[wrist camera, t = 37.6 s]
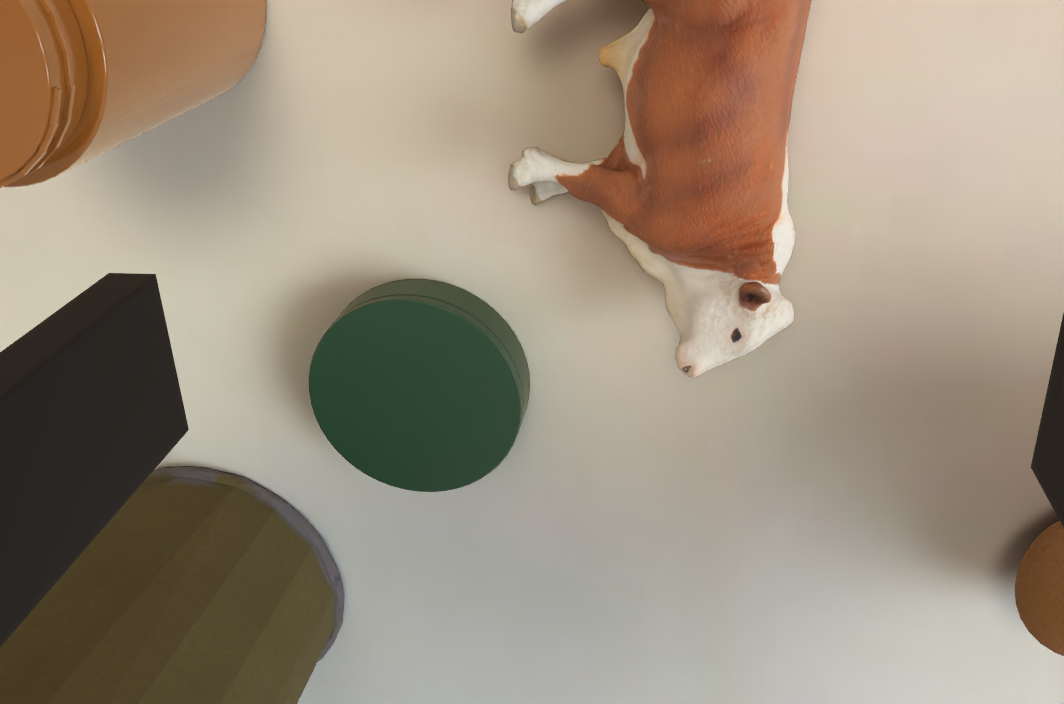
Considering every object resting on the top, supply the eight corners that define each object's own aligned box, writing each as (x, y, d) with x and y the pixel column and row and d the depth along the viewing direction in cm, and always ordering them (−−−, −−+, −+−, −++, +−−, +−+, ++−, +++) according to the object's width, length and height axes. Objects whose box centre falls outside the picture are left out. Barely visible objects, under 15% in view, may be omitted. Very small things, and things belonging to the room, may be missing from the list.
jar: (51, 59, 32) (-223, 145, 22) (74, -159, 29) (-230, -163, 19) (243, 133, 32) (50, 250, 22) (287, -76, 29) (85, -41, 20)
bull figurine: (488, 358, 29) (776, 413, 27) (513, -167, 23) (886, -140, 21) (531, 300, 33) (786, 345, 31) (562, -165, 27) (883, -142, 25)
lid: (449, 500, 37) (437, 529, 35) (288, 382, 36) (268, 407, 34) (572, 368, 34) (566, 394, 32) (401, 235, 32) (385, 255, 31)
